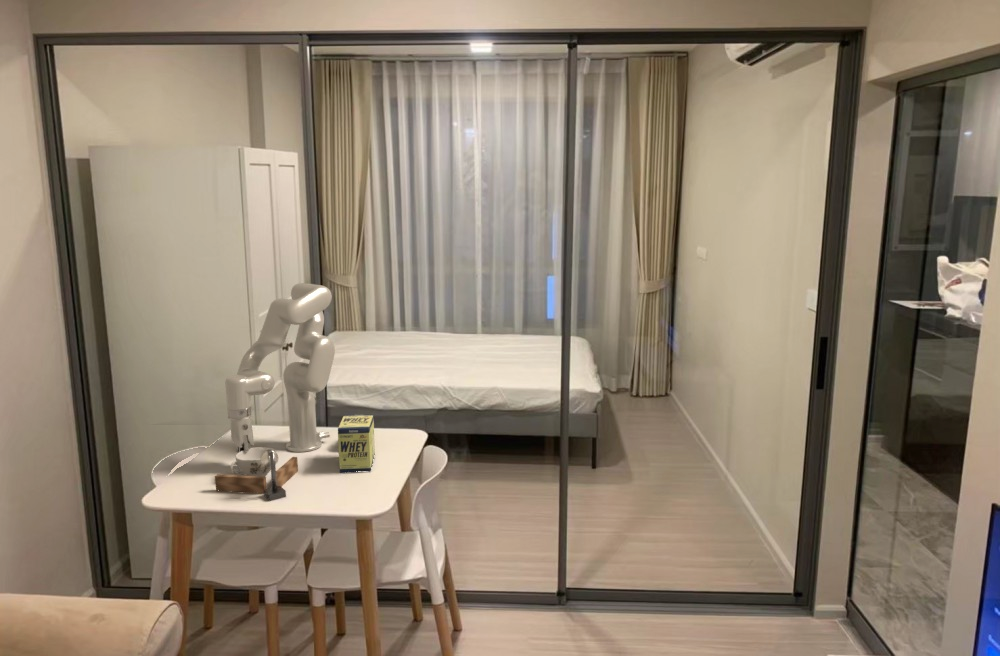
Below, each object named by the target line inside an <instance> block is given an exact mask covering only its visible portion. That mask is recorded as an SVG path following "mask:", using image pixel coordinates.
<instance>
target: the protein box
mask: <svg viewBox="0 0 1000 656" xmlns="http://www.w3.org/2000/svg"><path fill="white" fill-rule="evenodd" d="M374 419H375V418H374V414H372V413H371V414H346V415H345V414H344V415H343V417H342V419H341V421H340V423H339V425H338V427H337V440H338V441H337V442H338V461H339V462H338V463H339V473H340V474H346V473H347V472H351V473H359V472H358V471H371V472H372V469H371V467H373V465H372V464H374V462H373V459H374V460H375V458H374V455H375V456H376V451H375V450H376V449H375V448H376V447H375V423H374V422H375V421H374ZM356 471H357V472H356ZM345 472H346V473H345Z"/></svg>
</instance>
